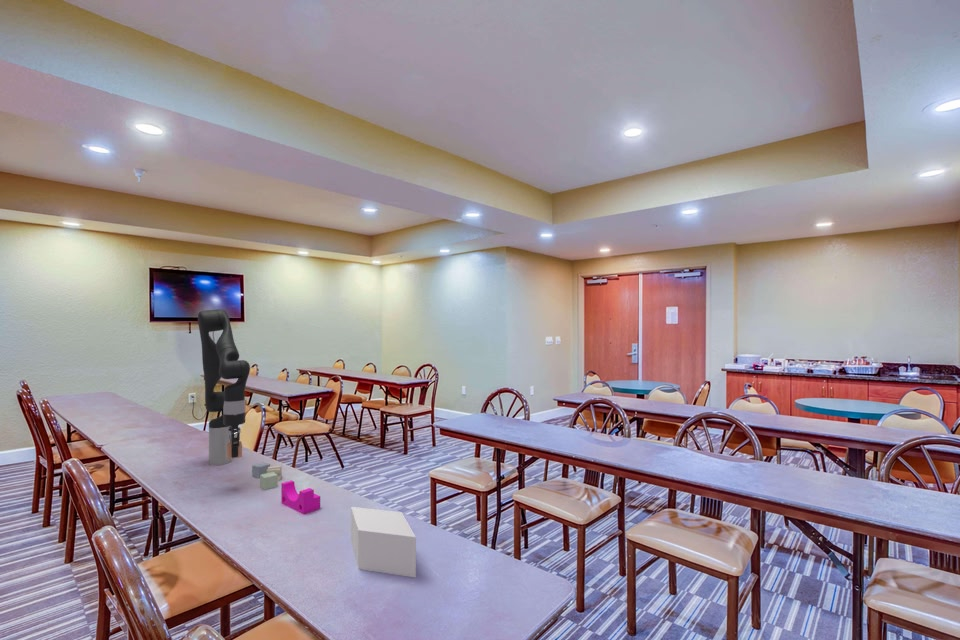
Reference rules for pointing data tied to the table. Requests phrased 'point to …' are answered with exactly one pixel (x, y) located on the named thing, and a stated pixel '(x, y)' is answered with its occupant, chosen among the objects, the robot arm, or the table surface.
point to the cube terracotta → (229, 450)
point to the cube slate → (259, 469)
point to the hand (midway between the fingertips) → (234, 455)
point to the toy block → (299, 498)
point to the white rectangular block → (383, 541)
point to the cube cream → (276, 471)
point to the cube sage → (268, 481)
